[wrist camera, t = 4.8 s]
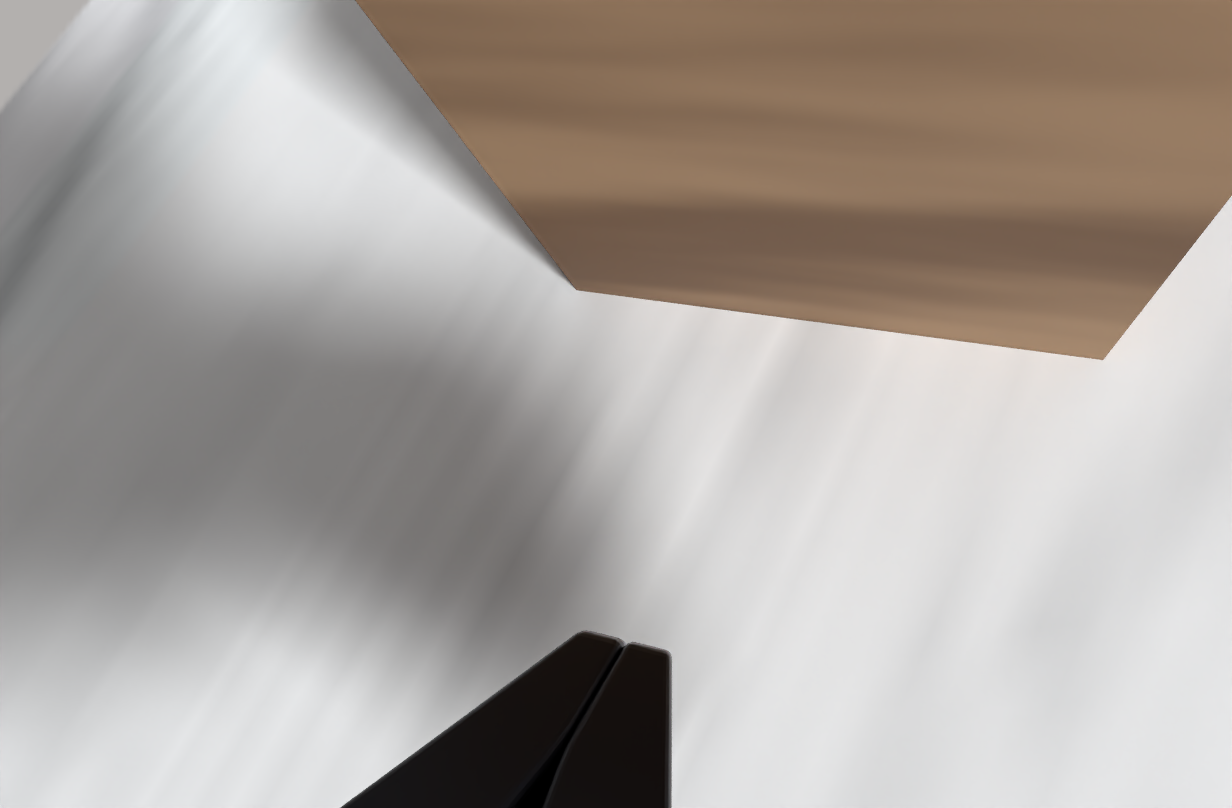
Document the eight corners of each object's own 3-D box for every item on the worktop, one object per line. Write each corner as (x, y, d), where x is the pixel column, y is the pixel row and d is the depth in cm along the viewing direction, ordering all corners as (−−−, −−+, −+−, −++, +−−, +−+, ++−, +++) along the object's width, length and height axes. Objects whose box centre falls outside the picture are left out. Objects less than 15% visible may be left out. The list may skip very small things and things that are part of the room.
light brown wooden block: (1102, 360, 16) (1419, -47, 7) (577, 290, 19) (309, -60, 10) (1128, 157, 17) (1442, -447, 8) (620, 120, 20) (410, -350, 11)
